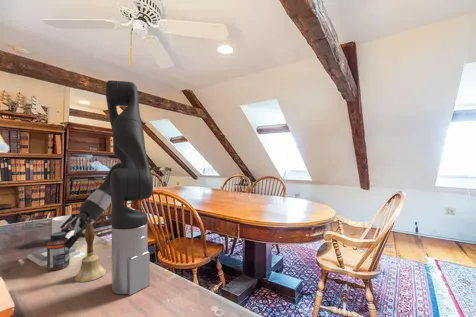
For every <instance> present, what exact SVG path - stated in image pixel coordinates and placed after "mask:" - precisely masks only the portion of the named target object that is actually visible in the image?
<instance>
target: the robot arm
mask: <svg viewBox="0 0 476 317" xmlns="http://www.w3.org/2000/svg"><path fill="white" fill-rule="evenodd" d="M105 100H106V104H107V105H106V106H107V111H108V117H109V122H110V127H111V132H112V138H113V151H114V157H115V158H116V159H118V160H119V161H120V162H117V163H115V164H114V165H113V166H112V167H111V168H110V170H109V172H108V173H107V175H106V177H105V179H104V181H103V182H102V183H101V184H100V185H99V186H98V187H97V188H96V189H95V191H93V192H92V193H91V194H90V195H89V196H88V197H87V199H85V200H84V202H83V203H81V205H80V206H79V207H78V209H77V212H79V213H78V214H77V215H76V214H75V213H72V214H71V215H69V216H70V217H69V218H68V219H67V220H66V221H65V222H64V223H63V224H62V226H61V227H60V228H61V231H60V232H65V233H66V235H67V234H68V233H69V232H71V231H74V230H75V231H74V233H73V235H74V236H73V235H72V236H71V237H70V238H69V239H68V240H67V241H66V243H65V244H64V246H65V247H67V248H71V247H73V245H74V244H75V243H76V242H77V241H78V240H79V239H81V238H82V239H85V230H86V227H87V224H89V223H92V226H93V227H94V226H95V225H96V224H97V222H96V221H97V220H99V218H100V217H101V215H103V213H104V212H105V211H106V210H107V208H108V207H110V206H111V290H112V292H113V293H115V294H117V295H129V296H131V295H135V293H137V292H139V291H142V290H143V289H145V288H147V287H149V286H150V284H151V281H150V280H151V278H150V277H151V273H150V270H151V269H150V262H151V261H150V260H151V259H150V258H151V257H150V251H149V250H148V214H147V213H146V212H145V211H142V210H137V209H133V208H130V207H128V206H126V205H125V202H130V201H131V202H132V201H141V200H142V201H143V200H147V199H150V198H151V197H152V195H153V192H154V180H153V176H152V171H151V167H150V163H149V160H148V155H147V151H146V145H145V144H146V142H145V134H144V129H143V128H144V127H143V122H142V119H141V114H140V113H141V112H140V101H139V90H138V88H137V84H135V83H134V82H131V81H125V80H124V81H123V80H107V81H106V84H105ZM117 107H126V108H124V109H123V110H122V111H121V112H120V113H119V112H118V108H117ZM65 225H66V226H65ZM68 229H69V230H68Z"/></svg>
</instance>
